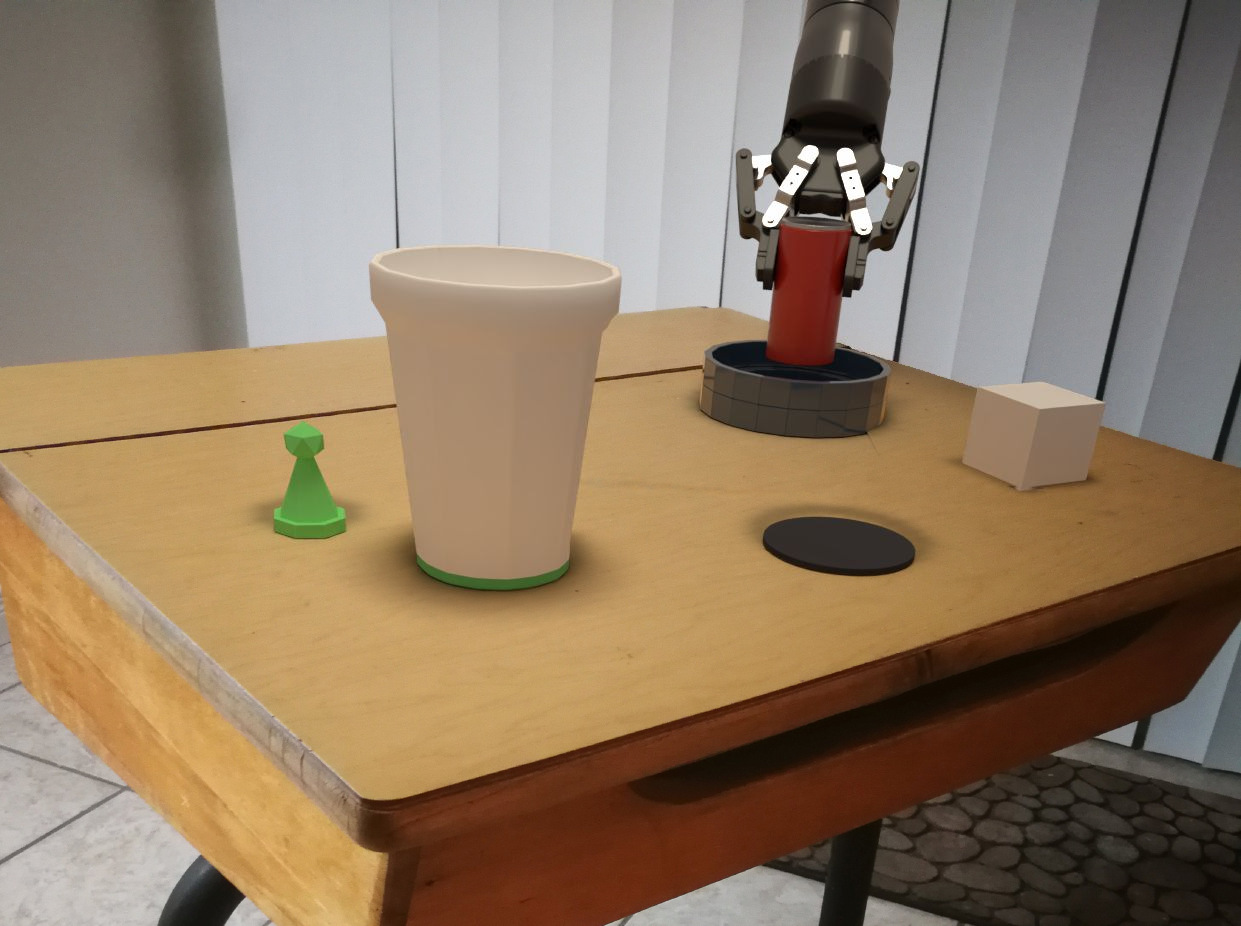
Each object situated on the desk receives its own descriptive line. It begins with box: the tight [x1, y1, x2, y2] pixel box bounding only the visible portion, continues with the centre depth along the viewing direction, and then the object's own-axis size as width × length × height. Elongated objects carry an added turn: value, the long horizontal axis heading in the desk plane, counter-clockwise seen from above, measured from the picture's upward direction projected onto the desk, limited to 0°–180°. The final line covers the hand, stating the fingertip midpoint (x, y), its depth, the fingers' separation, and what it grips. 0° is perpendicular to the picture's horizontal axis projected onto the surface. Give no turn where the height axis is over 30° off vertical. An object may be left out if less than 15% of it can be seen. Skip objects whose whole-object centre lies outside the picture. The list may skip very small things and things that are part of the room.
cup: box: [368, 244, 623, 591], centre depth 68 cm, size 12×12×15 cm
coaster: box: [762, 516, 916, 576], centre depth 77 cm, size 9×9×1 cm
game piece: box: [273, 420, 347, 539], centre depth 74 cm, size 4×4×6 cm
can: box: [766, 215, 852, 366], centre depth 97 cm, size 5×5×10 cm
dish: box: [698, 339, 893, 439], centre depth 101 cm, size 14×14×4 cm
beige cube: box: [961, 381, 1107, 492], centre depth 90 cm, size 6×6×6 cm
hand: (807, 286), depth 95 cm, fingers closed on can, 5 cm apart
